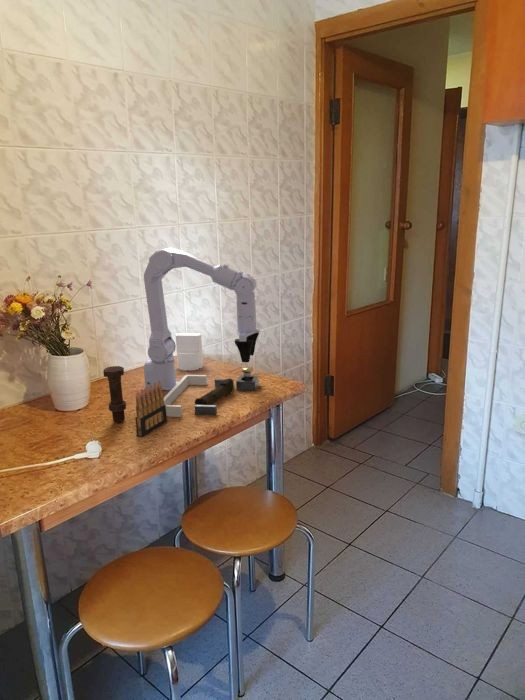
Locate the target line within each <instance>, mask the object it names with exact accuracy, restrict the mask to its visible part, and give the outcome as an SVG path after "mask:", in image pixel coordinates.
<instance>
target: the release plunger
mask: <svg viewBox="0 0 525 700" xmlns="http://www.w3.org/2000/svg"><path fill="white" fill-rule="evenodd" d="M240 369H241V370H240V371H241V372H242V373H243V375H244V381H250V380H251V375H252V372H253V371H254V370H253V369H254V368H253V366H243V367H241V368H240Z"/></svg>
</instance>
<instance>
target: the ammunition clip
mask: <svg viewBox="0 0 525 700" xmlns="http://www.w3.org/2000/svg"><path fill="white" fill-rule="evenodd" d="M164 397H165V396H164V393H163V390H162V386H161V383H160V381H158V386H157V385H156V383H154V387H152V385H150V388H149V390H148V387H146V389H145V388H144V389H143V388H141V390H140V391H138V390H137V391H136V395H135V411H136V417H135V429H136V432H135V433H136V437H140V438H144V437H146V436H147V435H148V434H149V435H150V434H151V433H152V432H154V431H155V430H157V429H159V428H160V427H162V426H163V424H164V425H165V424H167V423H168V417H167V415H166V405H164ZM153 430H154V431H153ZM150 432H151V433H150Z"/></svg>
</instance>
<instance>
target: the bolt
mask: <svg viewBox="0 0 525 700" xmlns="http://www.w3.org/2000/svg"><path fill="white" fill-rule="evenodd" d="M102 373H103V374H102V375H103V378H107V381H108V385H109V386H108V387H109V388H108V389H109V396H110V397H109V398H110V402H109V403H108V411H110V412H111V413H112V421H113V422H114V423H115V424H121V423H122V422H124V421H125V420H126V419H125V418H126V416H125V410H126V409H127V402H126V401H125V399H124V397H123V388H122V386H123V385H122V376H124V375H125V367H123V366H120V365H113V366H107V367H105V368H104V369H103V372H102Z"/></svg>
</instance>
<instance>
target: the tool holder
mask: <svg viewBox="0 0 525 700" xmlns="http://www.w3.org/2000/svg"><path fill="white" fill-rule="evenodd" d="M226 379H227V378H215V379H214V389H216V388H217V387H219V386H220V382H222V381H224V380H226ZM231 379H232V381H233V389H234V388H235V387H236V391H239V392H257V389H258V388H259V385H260V384H259V381H260V380H259V379H260V378H259V375H252V374H251V380H250V381H244V375H241V374H240V375H239V376H238V378H237V379H236V381H235V379H233V378H231ZM235 385H236V386H235ZM217 406H218V405H217V404H214V405H213V404H212V405H195V404H194V415H195V416H196V415H198V416H217V415H216V414H218V408H217Z"/></svg>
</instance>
